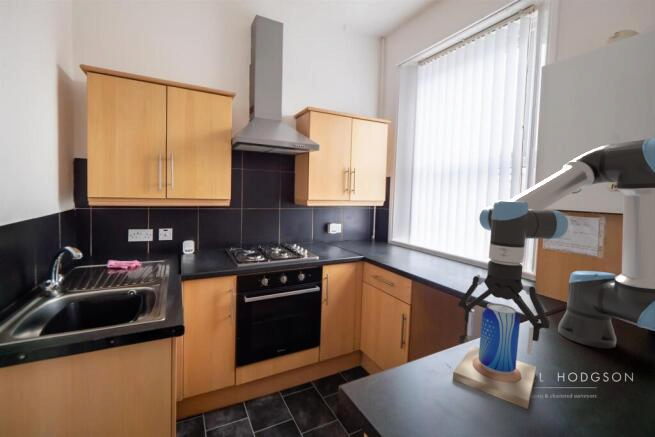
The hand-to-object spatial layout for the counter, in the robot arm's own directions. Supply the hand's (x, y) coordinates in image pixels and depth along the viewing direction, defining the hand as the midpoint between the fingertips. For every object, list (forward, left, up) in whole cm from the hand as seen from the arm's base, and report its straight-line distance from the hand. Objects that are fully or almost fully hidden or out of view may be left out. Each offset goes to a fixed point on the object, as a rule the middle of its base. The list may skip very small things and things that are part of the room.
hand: (498, 342), depth 78 cm
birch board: (0, 0, -9) cm, 9 cm away
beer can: (0, 0, -7) cm, 7 cm away
